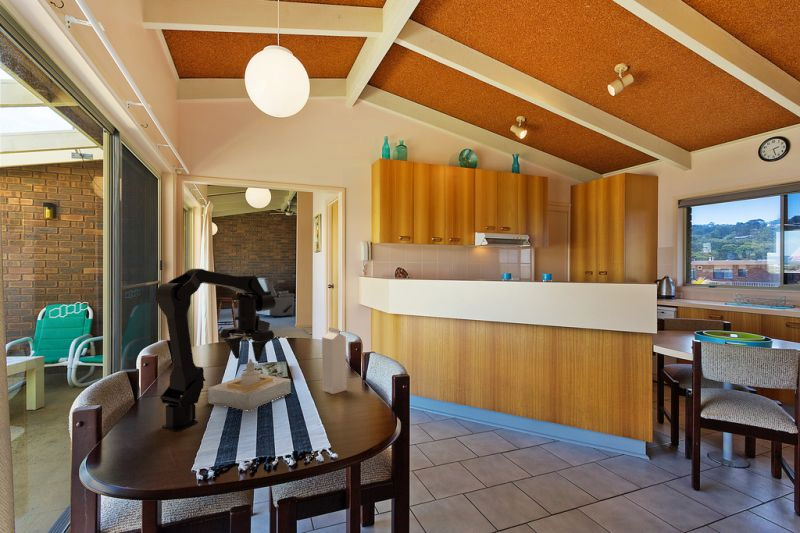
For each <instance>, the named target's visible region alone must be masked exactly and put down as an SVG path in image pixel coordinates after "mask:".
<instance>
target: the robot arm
mask: <svg viewBox="0 0 800 533" xmlns="http://www.w3.org/2000/svg"><path fill="white" fill-rule="evenodd" d="M202 284H205V285H212V286H219V287H225V288H228V289H230V290H232V291H233V292H236V294H235V295H234V296H233V297H232V298H231V300H232V301H237V316H234V320H235V321H237V326H236V327H235V326H233V327H227V328H223V329H222V330H221V331H220V338H222V339H223V341H225V343H226V344H227V346H228V347H229V349H230V351H231V352H232V354H233V356H234V358H235V359H236V360H237V359H240V354H241V353H240V352H241V341H242V340H243V338H251V339H252V341H251V346H252V351H253V357H254V359H255V362H259V361H260V359H261V357H262V354H263V350H264V349H265V346H266V345H267V343H269V342H271V341H272V340H274V339H275V332H274V331H273V330H271V329H270V325H271V322H268V321H265V320H261V319H260V315H259V314H258V315H257V312H264V311H271V310H273V309H275V307H276V304H277V301H276V299H275V297H274V295H272V291H271V290H264V288H263V286H262V284H261V283H260V281H259V278H258V276H255V275H231V274H227V273H221V272H217V271H213V270H211V271H210V270H206V269H204V268H190V269H188V270H187V271H186V272H184V273H183V274H181V275H179V276H177V277H175V278H173V279H171V280H170V281H168V282H166V283H165V282H164V283H162V284H160V285H159V286H158V288H157V289H155V299H156V301H157V304H158V308H159V309H160V310H161V312H162V313H163V314H164V315H165V318H166V323H167V329H168V330H167V331H168V336H169V343H170V344H169V345H170V349H171V350H170V351H171V355H172V362H173V363H172V364H173V368H172V370H171V373H170V376H169V385H168V386H167V388H166V389H165V390H164V391H163V393H162V394H161V395H160V397H159V398H160V401H161V403H162V404H164V405H165V424H162V425H161V428H162V429H166V430H170V431H174V432H179V431H182V430H184V429H186V428H189V427H191V426H195V425H196V424H198V423H199V420H196V419H197V416H196V414H197V413H196V412H197V410H196V404H197V403H199V399H200V397H201V393H202V390H203V389H204V384H205V383H204V382H206V379H205V375H204V374H205V372H204V368H203V366H197V365H196V364H195V361H194V356H193V349H192V342H191V335H190V327H189V320H188V311H189V309H190V307H191V304H192V303H191V301H192V300H191V299H192V295H194V294H195V293H196V292H197V291H198V290H199V288H200V287H201V286H202Z"/></svg>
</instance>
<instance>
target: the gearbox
mask: <svg viewBox="0 0 800 533" xmlns="http://www.w3.org/2000/svg"><path fill="white" fill-rule="evenodd" d="M207 391H208V392H207V395H208V398H207V399H208V404H209V405H215V406H220V407H223V406H226V407H225V408H228V407H232V408H231V409H233V408H237V409H236V410H238V409H242V410H248V411H251V410H253V409H255V408H257V407H259V406H261V405H263V404H266V403H268V402H270V401H272V400H275V399H277V398H279V397H282V396H284V395H286V396H288V395H287V394H289V393H292V392H291V378H286V377H285V378H284V377H283V376H281V375H279V376H273V375H266V374H260V382H258V383H255V384H252V385H250V386H244V385H241V377H236V378H234V379H230V380H228V381H226V382H225V381H224V382H221V383H219V384H216V385H213V386H209V387H208V390H207ZM289 395H290V394H289ZM284 397H285V396H284ZM282 398H283V397H282ZM277 400H278V399H277ZM275 401H276V400H275ZM266 405H267V404H266ZM257 409H258V408H257ZM242 410H241V411H242ZM255 410H256V409H255ZM253 411H254V410H253ZM251 412H252V411H251Z"/></svg>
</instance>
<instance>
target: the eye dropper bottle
mask: <svg viewBox="0 0 800 533" xmlns="http://www.w3.org/2000/svg"><path fill="white" fill-rule="evenodd" d="M260 375H261V374H260V371H259V370H258V369H255V363H254V362H253V360H252V358H249V360H248V362H247V363H246V370H244V371H243V372H242V373H241V385H244V386H250V385H252V384H255V383H258V382H260Z"/></svg>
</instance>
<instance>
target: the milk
mask: <svg viewBox="0 0 800 533" xmlns="http://www.w3.org/2000/svg"><path fill="white" fill-rule="evenodd" d="M321 339H322V340H321V343H322V344H321V345H322V346H321V348H322V349H321V350H322V352H321V353H322V354H321V355H322V362H321V363H322V368H321V369H322V391H323V392H326V393H327V394H331V395H335V394H338V393H341V392H344V391H347V337H346V336H344V335H343V334H341V333H340V329H339V328H335V327H328V331H327V333H325V334H324V335H323V336H322V338H321Z"/></svg>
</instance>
